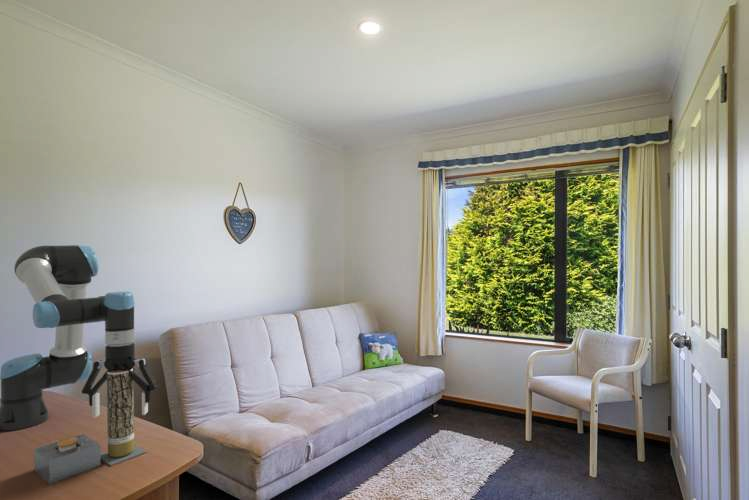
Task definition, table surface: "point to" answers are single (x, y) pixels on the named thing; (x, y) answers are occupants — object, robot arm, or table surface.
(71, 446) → the plunger
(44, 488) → the table surface
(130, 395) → the paper tube
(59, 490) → the table surface
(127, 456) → the mat
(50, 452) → the block
